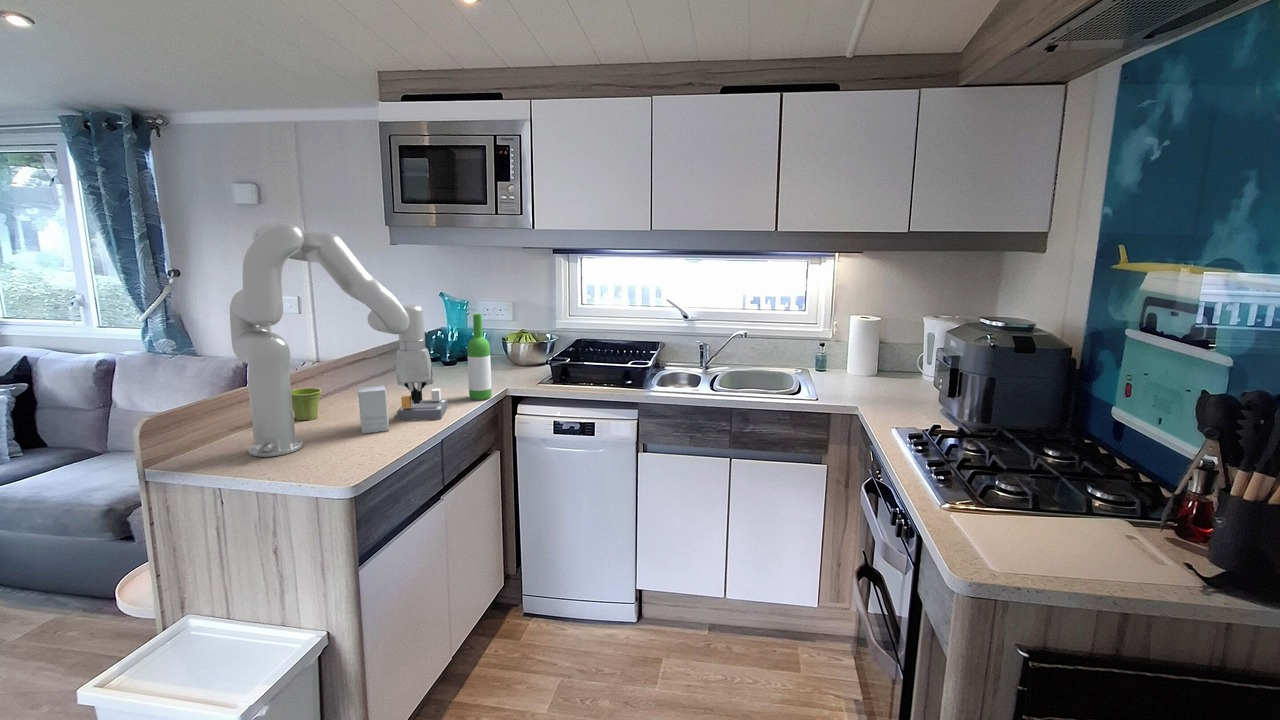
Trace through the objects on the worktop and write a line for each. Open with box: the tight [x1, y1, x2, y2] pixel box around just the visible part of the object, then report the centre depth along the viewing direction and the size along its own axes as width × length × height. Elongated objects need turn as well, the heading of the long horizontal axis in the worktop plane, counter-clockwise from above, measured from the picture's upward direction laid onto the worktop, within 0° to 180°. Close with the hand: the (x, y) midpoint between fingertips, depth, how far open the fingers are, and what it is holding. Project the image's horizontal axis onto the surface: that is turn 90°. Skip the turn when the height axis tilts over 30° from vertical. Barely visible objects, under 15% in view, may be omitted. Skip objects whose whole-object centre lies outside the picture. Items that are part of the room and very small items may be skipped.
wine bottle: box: [466, 313, 492, 401], centre depth 218 cm, size 8×8×30 cm
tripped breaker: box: [400, 394, 412, 409], centre depth 195 cm, size 3×2×4 cm
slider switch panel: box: [396, 398, 449, 421], centre depth 200 cm, size 13×13×3 cm
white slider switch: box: [431, 388, 442, 401], centre depth 204 cm, size 3×2×4 cm
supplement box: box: [357, 384, 389, 434], centre depth 183 cm, size 7×7×13 cm
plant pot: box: [291, 387, 322, 421], centre depth 193 cm, size 9×9×9 cm
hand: (417, 402), depth 195 cm, fingers closed
